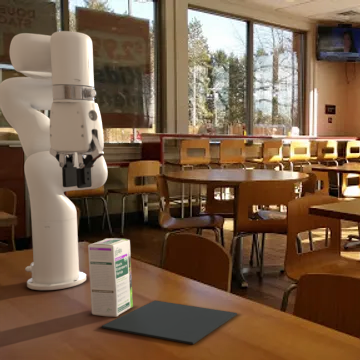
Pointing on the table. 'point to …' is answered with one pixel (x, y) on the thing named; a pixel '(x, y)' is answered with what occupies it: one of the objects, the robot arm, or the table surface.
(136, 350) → the table surface
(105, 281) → the syrup box
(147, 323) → the mat
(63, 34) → the robot arm
